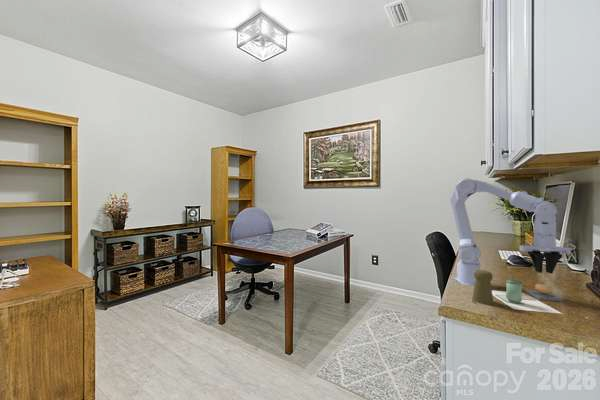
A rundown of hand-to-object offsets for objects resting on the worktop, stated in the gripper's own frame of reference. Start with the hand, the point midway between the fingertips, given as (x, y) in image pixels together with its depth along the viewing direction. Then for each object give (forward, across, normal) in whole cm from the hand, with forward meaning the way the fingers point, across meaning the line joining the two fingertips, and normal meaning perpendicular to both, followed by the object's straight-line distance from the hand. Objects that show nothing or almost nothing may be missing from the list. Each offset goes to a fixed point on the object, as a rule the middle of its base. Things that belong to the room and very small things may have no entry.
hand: (543, 272), depth 91 cm
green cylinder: (+9, -14, -9) cm, 19 cm away
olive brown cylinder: (+10, -24, -10) cm, 28 cm away
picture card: (+9, -11, -6) cm, 16 cm away
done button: (+7, 0, 0) cm, 7 cm away
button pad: (+9, 0, 0) cm, 9 cm away
